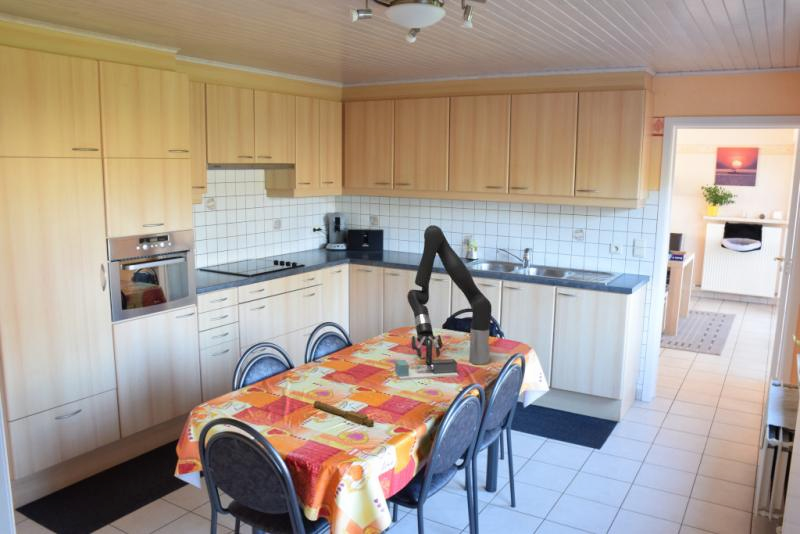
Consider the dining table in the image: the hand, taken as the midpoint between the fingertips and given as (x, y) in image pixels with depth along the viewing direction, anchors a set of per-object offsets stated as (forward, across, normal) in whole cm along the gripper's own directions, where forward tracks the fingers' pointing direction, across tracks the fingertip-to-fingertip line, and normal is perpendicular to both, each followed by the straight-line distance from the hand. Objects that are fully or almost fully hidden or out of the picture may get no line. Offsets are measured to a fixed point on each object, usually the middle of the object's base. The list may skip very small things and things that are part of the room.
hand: (429, 356), depth 298 cm
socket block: (+6, -13, +7) cm, 16 cm away
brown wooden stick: (+36, -46, -22) cm, 63 cm away
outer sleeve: (+6, +8, +7) cm, 12 cm away
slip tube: (+4, +3, +6) cm, 8 cm away
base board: (+6, -1, +7) cm, 9 cm away
